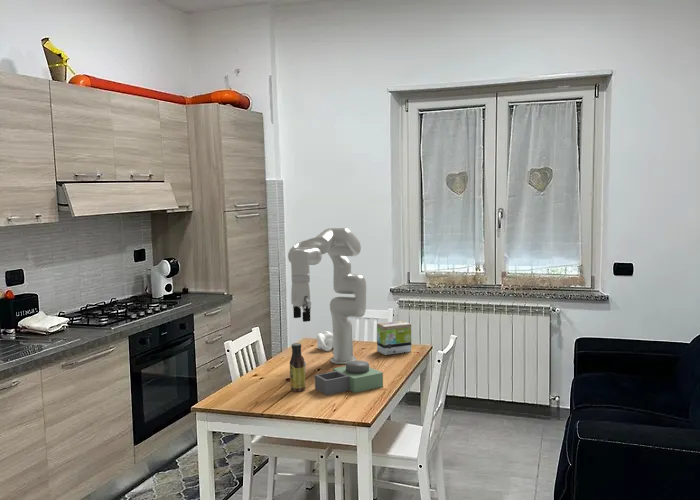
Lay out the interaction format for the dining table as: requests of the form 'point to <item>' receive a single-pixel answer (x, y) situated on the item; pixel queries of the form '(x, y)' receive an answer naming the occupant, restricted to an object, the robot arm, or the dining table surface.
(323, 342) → the white knot sculpture
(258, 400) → the dining table surface
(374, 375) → the grey and green blocks
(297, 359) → the sauce bottle
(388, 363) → the dining table surface
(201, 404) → the dining table surface
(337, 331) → the robot arm
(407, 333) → the tea box
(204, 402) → the dining table surface
